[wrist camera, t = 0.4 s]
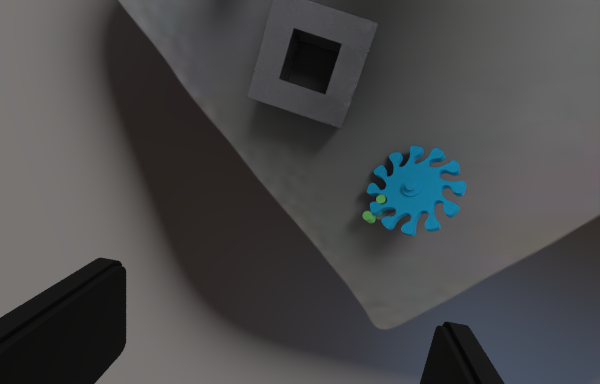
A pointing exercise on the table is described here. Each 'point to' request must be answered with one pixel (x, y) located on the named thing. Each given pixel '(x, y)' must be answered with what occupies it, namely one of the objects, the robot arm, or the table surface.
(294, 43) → the block
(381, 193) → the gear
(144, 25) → the table surface
